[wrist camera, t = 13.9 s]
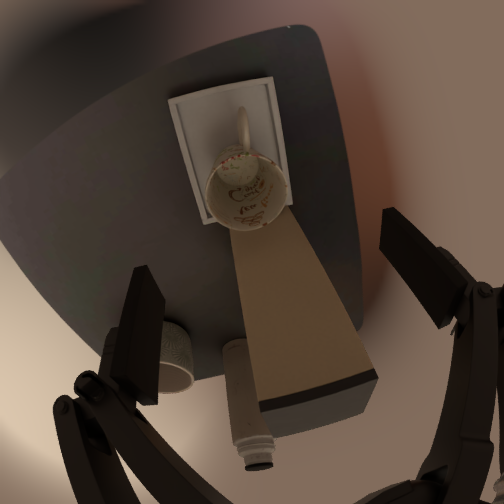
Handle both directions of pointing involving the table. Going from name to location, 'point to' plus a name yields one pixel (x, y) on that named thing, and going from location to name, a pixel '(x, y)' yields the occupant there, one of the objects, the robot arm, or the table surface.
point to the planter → (175, 360)
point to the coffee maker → (277, 274)
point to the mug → (245, 184)
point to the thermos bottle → (246, 408)
